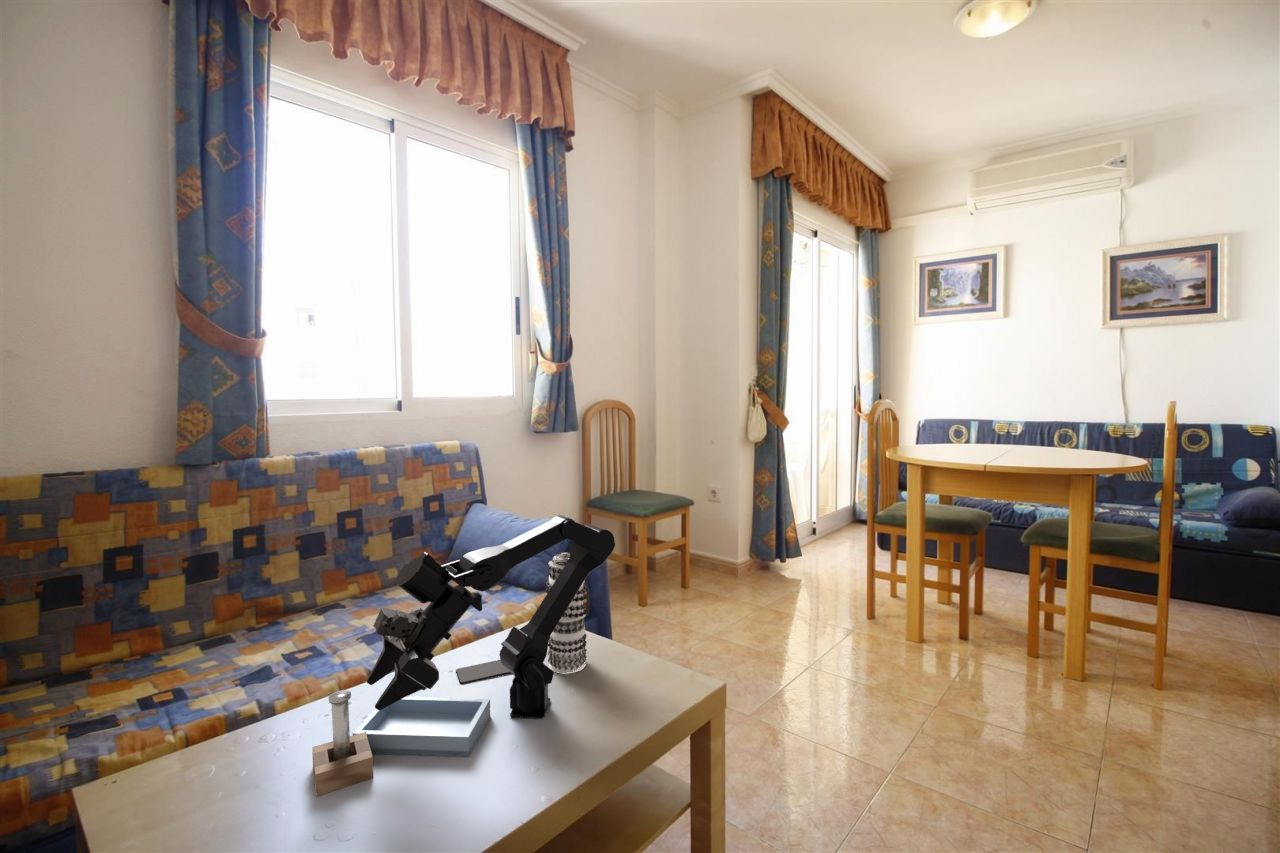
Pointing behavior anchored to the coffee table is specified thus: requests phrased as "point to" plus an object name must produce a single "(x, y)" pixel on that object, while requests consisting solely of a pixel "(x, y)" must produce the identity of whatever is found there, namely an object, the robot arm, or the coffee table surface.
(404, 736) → the tray
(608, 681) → the coffee table surface
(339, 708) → the metal pin
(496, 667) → the smartphone
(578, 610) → the decorative candle
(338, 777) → the pin block
